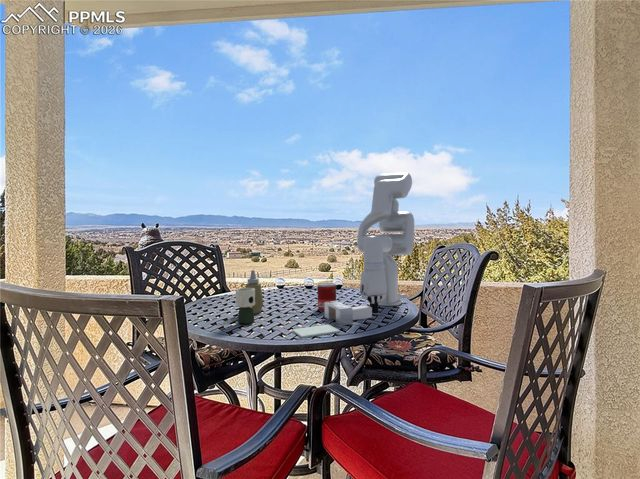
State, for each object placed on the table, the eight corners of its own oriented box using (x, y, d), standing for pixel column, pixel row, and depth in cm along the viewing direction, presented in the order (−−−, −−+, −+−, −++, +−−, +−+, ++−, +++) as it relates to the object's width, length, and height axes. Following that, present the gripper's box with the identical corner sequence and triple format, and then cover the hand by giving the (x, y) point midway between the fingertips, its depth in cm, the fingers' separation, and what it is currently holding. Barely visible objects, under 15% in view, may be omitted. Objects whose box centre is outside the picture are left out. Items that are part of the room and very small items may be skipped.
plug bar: (366, 315, 155) (366, 305, 155) (372, 317, 151) (371, 307, 151) (339, 318, 150) (339, 308, 150) (344, 321, 147) (344, 310, 146)
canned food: (336, 311, 164) (336, 285, 163) (317, 311, 164) (317, 285, 163) (336, 307, 171) (335, 282, 171) (318, 307, 172) (317, 282, 171)
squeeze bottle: (265, 310, 168) (264, 269, 167) (261, 314, 159) (259, 271, 159) (247, 310, 168) (246, 269, 168) (241, 314, 160) (240, 271, 160)
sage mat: (328, 326, 140) (328, 324, 140) (340, 332, 132) (339, 330, 132) (292, 331, 134) (292, 329, 134) (301, 337, 126) (301, 336, 126)
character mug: (250, 327, 141) (249, 291, 140) (231, 326, 142) (230, 291, 141) (259, 319, 151) (258, 286, 151) (242, 319, 152) (241, 286, 152)
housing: (336, 315, 155) (335, 300, 155) (352, 323, 142) (352, 307, 142) (324, 317, 153) (324, 302, 153) (340, 325, 140) (340, 308, 140)
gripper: (384, 265, 159) (384, 309, 160) (352, 267, 153) (353, 313, 154) (394, 266, 153) (395, 312, 153) (362, 269, 147) (362, 317, 147)
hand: (374, 312), depth 154 cm, fingers closed
